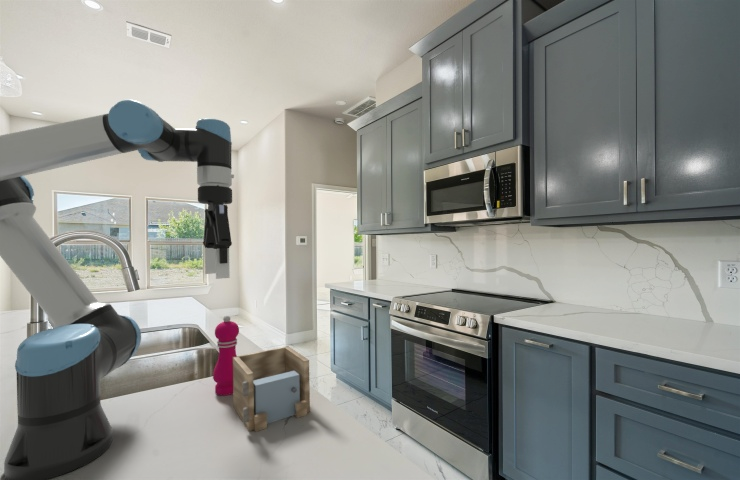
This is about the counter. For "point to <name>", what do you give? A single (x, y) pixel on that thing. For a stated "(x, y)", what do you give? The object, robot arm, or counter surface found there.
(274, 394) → the door
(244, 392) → the cabinet
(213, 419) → the counter surface
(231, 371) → the pepper mill
